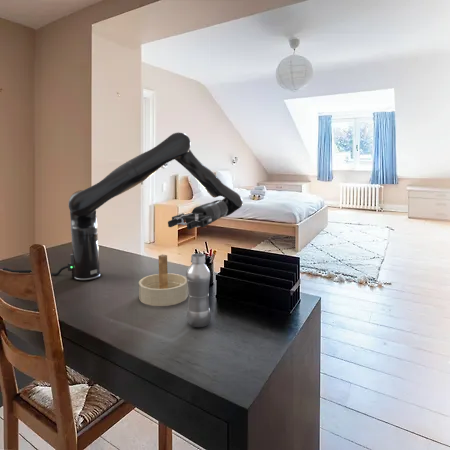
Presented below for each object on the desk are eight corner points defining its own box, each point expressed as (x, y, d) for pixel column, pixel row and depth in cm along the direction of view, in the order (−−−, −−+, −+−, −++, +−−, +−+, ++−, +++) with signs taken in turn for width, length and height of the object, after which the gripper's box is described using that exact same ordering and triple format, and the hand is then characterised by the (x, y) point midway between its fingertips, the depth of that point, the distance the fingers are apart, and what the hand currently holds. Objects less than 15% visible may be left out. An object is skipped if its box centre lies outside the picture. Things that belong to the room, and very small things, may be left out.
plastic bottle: (207, 331, 94) (207, 259, 90) (183, 328, 95) (182, 257, 92) (213, 320, 100) (213, 252, 97) (190, 318, 102) (189, 251, 98)
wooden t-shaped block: (155, 296, 116) (154, 255, 114) (160, 293, 118) (159, 253, 116) (167, 299, 114) (166, 257, 111) (172, 296, 116) (171, 255, 113)
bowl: (131, 305, 110) (130, 287, 109) (150, 288, 125) (150, 271, 124) (179, 310, 107) (179, 291, 106) (193, 291, 122) (192, 274, 121)
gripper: (190, 203, 135) (161, 213, 123) (221, 205, 127) (193, 216, 115) (192, 222, 137) (164, 234, 125) (223, 225, 129) (195, 238, 117)
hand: (178, 225), depth 120 cm, fingers open, 8 cm apart
